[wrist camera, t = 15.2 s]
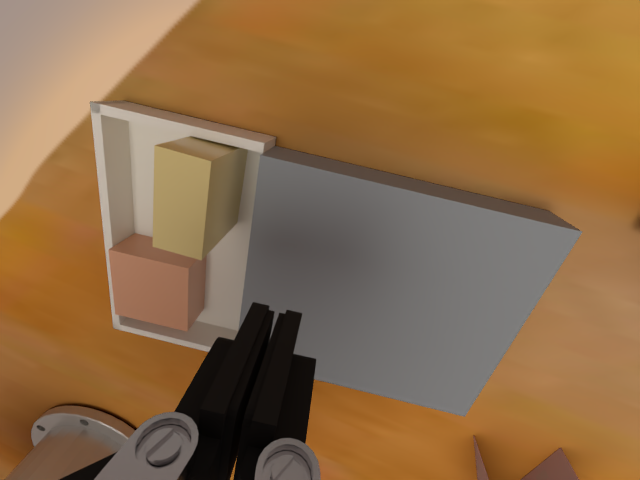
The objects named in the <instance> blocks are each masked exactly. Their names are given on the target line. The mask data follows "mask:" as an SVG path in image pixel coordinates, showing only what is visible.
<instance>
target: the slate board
mask: <svg viewBox="0 0 640 480" xmlns="http://www.w3.org/2000/svg"><path fill="white" fill-rule="evenodd" d="M581 233H582V231H580V230H579V229H577V228H575V227H574V226H572V225H571V224H569V223H567V222H566V221H564V220H563V219H561V218H559V217H558V216H556V215H555V214H553V213H551V212H550V211H547V210H543V209H539V208H534V207H530V206H526V205H522V204H518V203H513V202H509V201H505V200H501V199H497V198H492V197H488V196H484V195H480V194H476V193H471V192H467V191H463V190H459V189H455V188H450V187H446V186H442V185H438V184H434V183H429V182H425V181H421V180H417V179H413V178H408V177H404V176H400V175H396V174H392V173H387V172H383V171H379V170H375V169H371V168H366V167H362V166H358V165H354V164H350V163H345V162H341V161H337V160H333V159H329V158H324V157H320V156H316V155H312V154H308V153H303V152H299V151H295V150H291V149H287V148H282V147H278V146H274V147H272V148H271V149H269V150H267V151H266V152H264V153H262V154H261V155H260V160H259V168H258V176H257V184H256V192H255V200H254V209H253V217H252V225H251V233H250V241H249V249H248V257H247V265H246V273H245V281H244V289H243V297H242V305H241V313H240V321H239V329H240V327H241V325H242V323H243V321H244V319H245V317H246V315H247V313H248V311H249V309H250V307H251V305H252V303H253V302H256V303H260V304H265V305H269V310H271V311H274V312H275V313H274V319H273V324H272V330H271V335H272V332H273V329H274V326H275V324H276V321H277V318H278V315H279V312H280V313H284V314H285V313H286V310H291V311H296V312H300V313H302V318H301V322H300V326H299V331H298V335H297V340H296V344H295V349H294V353H293V354H297V355H302V356H306V357H310V358H315V359H316V367H315V375H314V379H316V380H320V381H324V382H328V383H332V384H336V385H340V386H344V387H348V388H352V389H356V390H360V391H364V392H368V393H372V394H376V395H380V396H384V397H388V398H392V399H396V400H400V401H404V402H408V403H412V404H416V405H420V406H424V407H428V408H432V409H436V410H440V411H444V412H448V413H452V414H456V415H460V416H464V417H465V415H466V414H467V412H468V411H469V409H470V408H471V406H472V404H473V403H474V401H475V400H476V398H477V397H478V395H479V393H480V392H481V390H482V389H483V387H484V386H485V384H486V382H487V381H488V379H489V378H490V376H491V375H492V373H493V371H494V370H495V368H496V367H497V365H498V364H499V362H500V360H501V359H502V357H503V356H504V354H505V353H506V351H507V349H508V348H509V346H510V345H511V343H512V342H513V340H514V339H515V337H516V335H517V334H518V332H519V331H520V329H521V328H522V326H523V324H524V323H525V321H526V320H527V318H528V317H529V315H530V313H531V312H532V310H533V309H534V307H535V306H536V304H537V302H538V301H539V299H540V298H541V296H542V295H543V293H544V291H545V290H546V288H547V287H548V285H549V284H550V282H551V280H552V279H553V277H554V276H555V274H556V273H557V271H558V269H559V268H560V266H561V265H562V263H563V262H564V260H565V258H566V257H567V255H568V254H569V252H570V251H571V249H572V247H573V246H574V244H575V243H576V241H577V240H578V238H579V236H580V235H581ZM239 329H238V331H239ZM271 335H270V338H271Z"/></svg>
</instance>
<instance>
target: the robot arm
mask: <svg viewBox="0 0 640 480" xmlns="http://www.w3.org/2000/svg"><path fill="white" fill-rule="evenodd" d="M274 313H275V312H274V311H271V310H269V305H265V304H260V303H256V302H253V303H252V305H251V307H250V309H249V311H248V313H247V315H246V317H245V319H244V321H243V323H242V325H241V327H240V329H239V331H238V333H237V335H236V337H235V339H234V340H231V339H227V338H222V337H218V338H217V339H216V340H215V342H214V344H213V345H212V347H211V349H210V351H209V352H208V354H207V356H206V358H205V359H204V361H203V363H202V365H201V366H200V368H199V370H198V372H197V373H196V375H195V377H194V378H193V380H192V382H191V384H190V385H189V387H188V389H187V391H186V392H185V394H184V396H183V398H182V399H181V401H180V403H179V405H178V406H177V408H176V410H175V412H167V413H162V414H159V415H156V416H154V417H152V418H150V419H149V420H147V421H145V422H144V423H143V424H142V425H141V426H140V427H139V428H137V429H136V430H134V429H133V428H132V427H130V426H129V425H127V424H126V423H124V422H123V421H121V420H119V419H117V418H115V417H114V416H112V415H109V414H107V413H104V412H102V411H99V410H95V409H92V408H88V407H82V406H60V407H55V408H52V409H50V410H48V411H46V412H45V413H44V414H43V415H42V416H41V417H40V418H39V419H38V420H37V421H36V422H35V423H34V424H33V427H32V430H31V438H32V442H33V445H34V448H33V449H32V450H31V451H30V452H29V454H28V455H27V456H26V457H25V458H24V459H23V460H22V461H21V462H20V463H19V464H18V465H17V466H16V468H15V469H14V470H13V471H12V472H11V473H10V474H9V475H8V476H7V477H6V478H5V479H4V480H230V477H231V473H232V470H233V467H234V464H235V461H236V458H237V461H236V467H235V474H234V480H320V469H319V464H318V460H317V458H316V456H315V454H314V452H313V451H312V450H311V449H310V448H309V447H308V446H307V445H306V444H305V442H306V434H307V427H308V419H309V412H310V404H311V397H312V389H313V382H314V375H315V367H316V359H315V358H310V357H306V356H302V355H297V354H293V353H294V349H295V344H296V340H297V335H298V331H299V326H300V322H301V318H302V313H300V312H296V311H291V310H286V313H285V314H284V313H280V312H279V315H278V318H277V321H276V324H275V326H274V329H273V332H272V335H271V330H272V324H273V319H274ZM270 335H271V338H270Z"/></svg>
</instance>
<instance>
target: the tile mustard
mask: <svg viewBox="0 0 640 480" xmlns="http://www.w3.org/2000/svg"><path fill="white" fill-rule="evenodd" d="M247 153H248V149H243V148H239V147H235V146H231V145H227V144H222V143H218V142H214V141H210V140H206V139H201V138H197V137H193V136H189V137H185V138H181V139H177V140H173V141H169V142H165V143H161V144H157V145H154V192H153V247H156V248H159V249H163V250H166V251H170V252H173V253H177V254H180V255H184V256H188V257H191V258H195V259H198V260H202V259H203V258H204V257H205V256H206V255H207V254H208V253H209V252H210V251H211V250H212V249H213V248H214V247H215V246H216V245H217V244H218V243H219V242H220V240H221V239H222V238H223V237H224V236H225V235H226V234H227V233H228V232H229V231H230V230H231V229H232V228H233V227H234V226H235V225H236V224H237V221H238V214H239V207H240V201H241V194H242V187H243V180H244V174H245V167H246V160H247Z"/></svg>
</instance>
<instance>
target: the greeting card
mask: <svg viewBox="0 0 640 480" xmlns="http://www.w3.org/2000/svg"><path fill="white" fill-rule="evenodd" d="M474 446H475V457H476V468H477V479H478V480H489V479H488V476H487V473H486V470H485V467H484V464H483V461H482V458H481V455H480V452H479V449H478V446H477V443H476V440H475V437H474ZM521 480H579V479H578V477H577V475H576V474H575V472H574V470H573V468H572V466H571V465H570V463H569V461H568V459H567V458H566V456H565V454H564V452H563V451H562V449H561V448H559V449H558V450H557V451H556V452H554V453H553V454H552V455H551V456H549V457H548V458H547V459H546V460H544V461H543V462H542V463H541V464H539V465H538V466H537V467H536V468H535V469H533V470H532V471H531V472H530V473H528V474H527V475H526V476H525V477H523V478H522V479H521Z"/></svg>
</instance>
